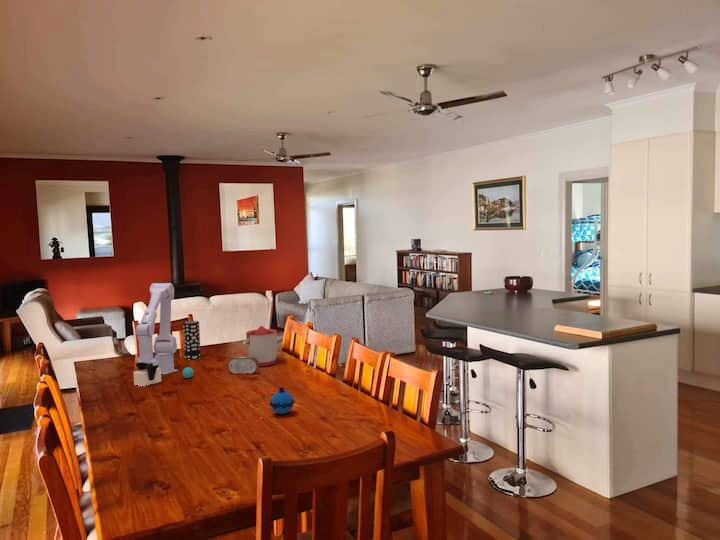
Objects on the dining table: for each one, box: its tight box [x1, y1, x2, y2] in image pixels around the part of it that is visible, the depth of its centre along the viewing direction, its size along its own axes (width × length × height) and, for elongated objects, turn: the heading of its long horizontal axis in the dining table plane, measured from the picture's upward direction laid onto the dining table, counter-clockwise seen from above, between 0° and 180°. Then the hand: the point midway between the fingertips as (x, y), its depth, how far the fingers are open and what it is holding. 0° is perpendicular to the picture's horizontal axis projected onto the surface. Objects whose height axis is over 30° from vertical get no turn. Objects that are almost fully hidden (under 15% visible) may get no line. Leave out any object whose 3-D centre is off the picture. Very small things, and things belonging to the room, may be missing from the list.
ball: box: [182, 366, 194, 379], centre depth 250 cm, size 5×5×5 cm
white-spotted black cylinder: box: [182, 320, 202, 361], centre depth 287 cm, size 8×8×20 cm
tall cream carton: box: [133, 368, 162, 388], centre depth 242 cm, size 6×10×6 cm, turn 143°
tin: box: [227, 355, 260, 375], centre depth 254 cm, size 15×3×8 cm, turn 84°
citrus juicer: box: [242, 325, 278, 367], centre depth 271 cm, size 16×17×20 cm
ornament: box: [269, 386, 295, 415], centre depth 197 cm, size 9×9×10 cm
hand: (147, 378), depth 242 cm, fingers closed on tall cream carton, 6 cm apart
